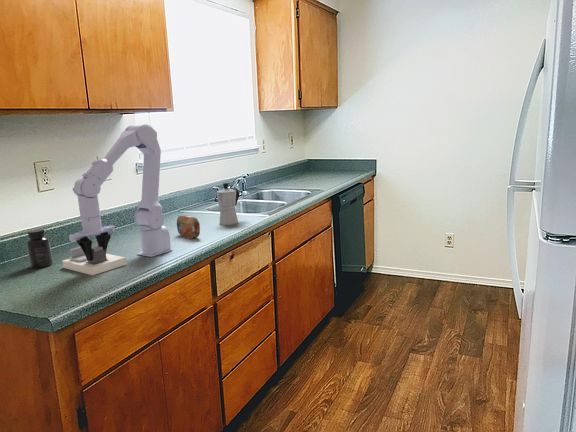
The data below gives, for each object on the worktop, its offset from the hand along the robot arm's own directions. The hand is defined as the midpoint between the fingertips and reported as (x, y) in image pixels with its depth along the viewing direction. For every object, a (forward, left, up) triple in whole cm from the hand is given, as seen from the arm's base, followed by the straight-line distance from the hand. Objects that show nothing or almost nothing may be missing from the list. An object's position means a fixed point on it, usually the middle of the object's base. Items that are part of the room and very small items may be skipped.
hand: (96, 258), depth 147 cm
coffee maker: (-69, -7, -4) cm, 69 cm away
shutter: (0, -7, -1) cm, 7 cm away
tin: (-43, -5, -4) cm, 43 cm away
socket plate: (-1, -3, -3) cm, 5 cm away
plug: (0, 0, -2) cm, 2 cm away
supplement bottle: (+7, -22, -4) cm, 23 cm away
